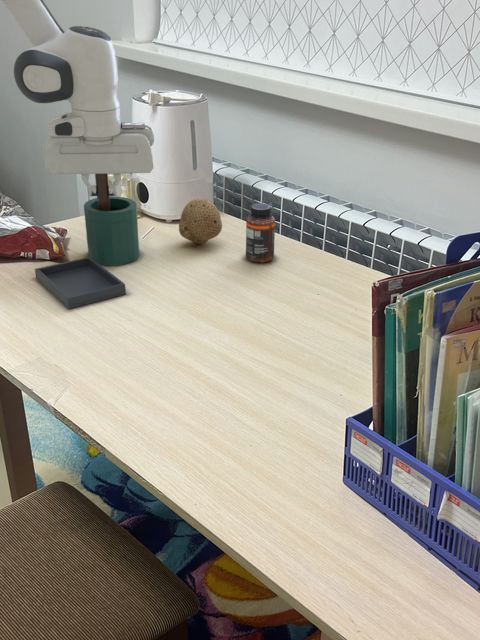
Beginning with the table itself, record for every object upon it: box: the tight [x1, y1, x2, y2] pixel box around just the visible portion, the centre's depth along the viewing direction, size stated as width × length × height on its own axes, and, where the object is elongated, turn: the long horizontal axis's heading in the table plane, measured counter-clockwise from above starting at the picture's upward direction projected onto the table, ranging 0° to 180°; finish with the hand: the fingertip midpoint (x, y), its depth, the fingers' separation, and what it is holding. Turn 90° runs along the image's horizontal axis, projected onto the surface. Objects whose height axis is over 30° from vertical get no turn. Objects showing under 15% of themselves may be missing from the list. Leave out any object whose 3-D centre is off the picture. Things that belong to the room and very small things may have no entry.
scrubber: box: [94, 174, 111, 211], centre depth 138 cm, size 4×4×16 cm
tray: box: [34, 256, 127, 310], centre depth 130 cm, size 15×11×2 cm
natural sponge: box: [178, 198, 223, 245], centre depth 148 cm, size 9×9×10 cm
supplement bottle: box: [245, 202, 276, 264], centre depth 142 cm, size 6×6×11 cm
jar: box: [83, 196, 140, 267], centre depth 141 cm, size 10×10×11 cm
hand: (102, 195), depth 136 cm, fingers closed on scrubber, 2 cm apart
